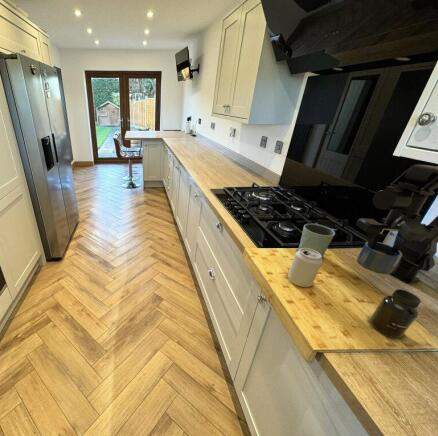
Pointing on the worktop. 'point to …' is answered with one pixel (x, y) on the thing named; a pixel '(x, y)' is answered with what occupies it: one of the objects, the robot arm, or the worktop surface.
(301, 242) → the green tapered tumbler
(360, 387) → the worktop surface
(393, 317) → the supplement bottle
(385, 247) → the cup
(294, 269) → the can
